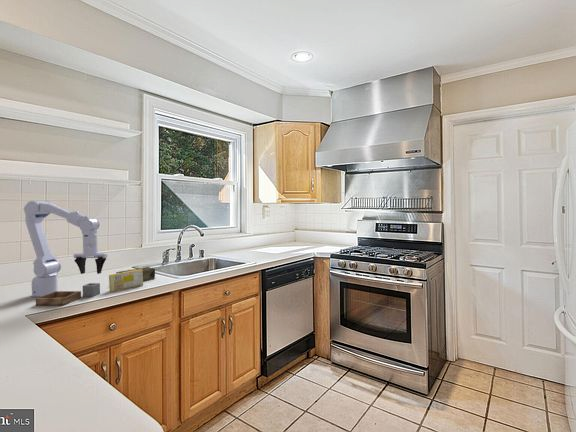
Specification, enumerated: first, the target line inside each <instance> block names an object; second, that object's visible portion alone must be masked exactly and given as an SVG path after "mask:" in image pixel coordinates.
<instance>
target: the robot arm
mask: <svg viewBox="0 0 576 432" xmlns="http://www.w3.org/2000/svg"><path fill="white" fill-rule="evenodd" d="M23 211H24V214H25V225H26V229H27V231H28V234H29V237H30V240H31V243H32V247H33V250H34V252H35V255H36V258H35V259H34V260H33V261H32V264H33V273H34V275H35V276H34V277H33V278H32V281H31V295H30V297H36V298H39V297H42V296H44V295H47V294H50V293H52V292H55V291H59V289H58V275H59V272H60V271H61V269H62V265H61V262H60V261H59V260H58V258H57V256H56V255H53V254H52V253H51V250H50V249H51V248H50V246H49V242H48V240H47V236H46V233H45V231H44V228H43V225H42V224H43V223H42V222H43V220H44V219H45V218H47V217H49V215H50V214H53V215H56V216H58V217H61V218H64V219H66V222H67V223H69V224H71V225H73V226H75V227H78V228H79V229H80V231H81V234H82V253H73V259H74V263H75V264H76V265H77V267H78V269H79V272H80V274H81V275H83V274H85V273H86V262H87V259H94V262H95V265H96V274H97V275H99V274H102V271H103V267H104V264H105V262H106V260H107V258H108V253H106V252H105V253H104V252H98V229H99V228H100V221H99V220H98V219H97V218H95V217H92V218H90V217H89V215H84V214H82V213H80V211H77V210H76V211H73V210H72V211H69V210H67V209H65V208H62V207H61V206H58V205H57V204H55V203H54V202H51V201H47V200H46V201H37V200H36V201H35V200H30V201H28V202H27V203H26V204H25V205H24V207H23Z"/></svg>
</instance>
